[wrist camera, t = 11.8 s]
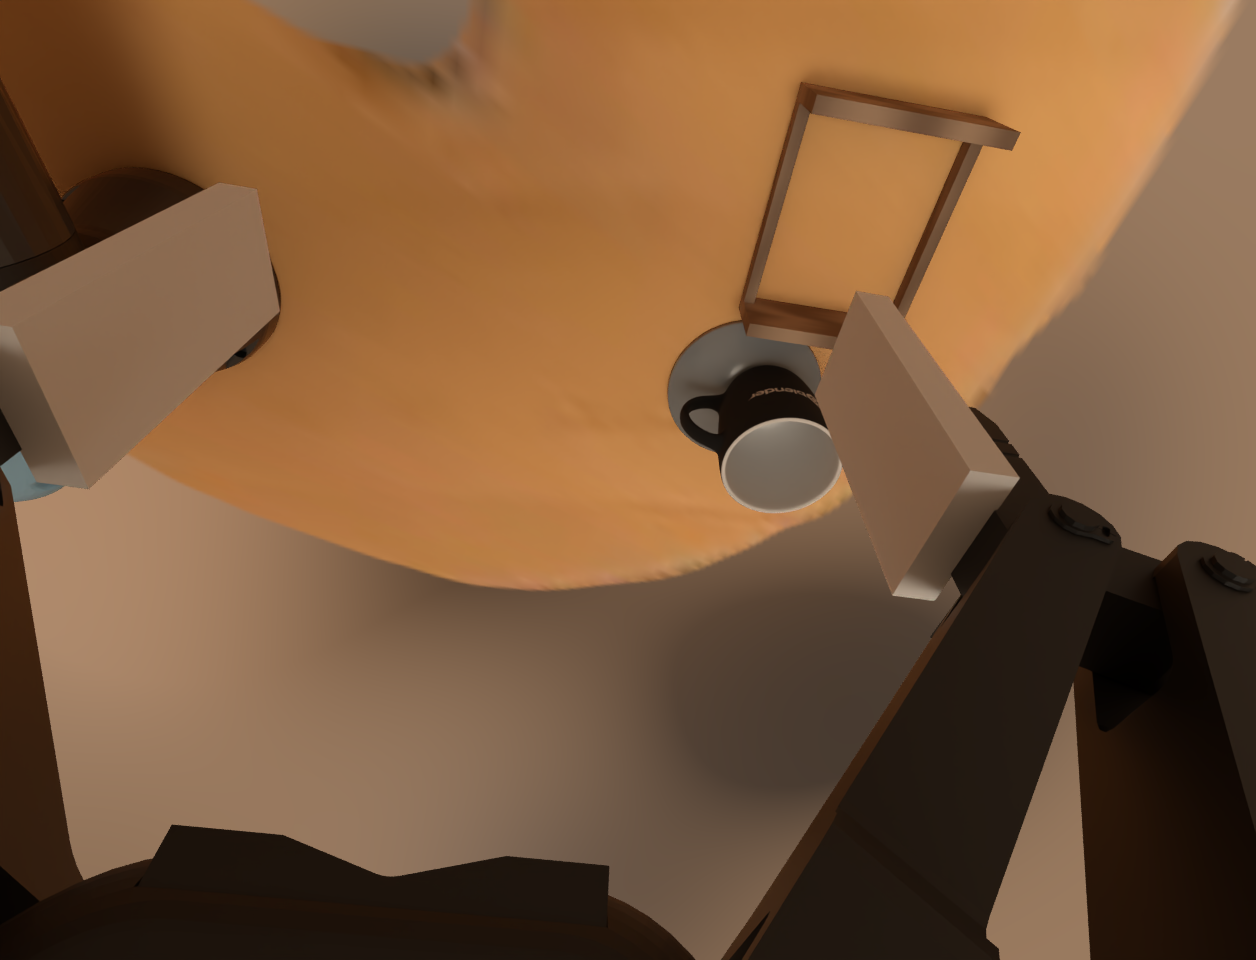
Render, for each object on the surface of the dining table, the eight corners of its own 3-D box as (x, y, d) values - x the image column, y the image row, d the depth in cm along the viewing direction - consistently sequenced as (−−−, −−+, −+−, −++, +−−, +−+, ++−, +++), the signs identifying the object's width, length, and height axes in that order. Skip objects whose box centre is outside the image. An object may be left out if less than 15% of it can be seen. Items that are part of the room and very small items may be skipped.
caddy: (738, 307, 51) (746, 335, 47) (801, 82, 41) (817, 94, 38) (890, 332, 52) (910, 361, 48) (986, 117, 42) (1020, 132, 38)
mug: (832, 361, 53) (864, 430, 45) (794, 447, 59) (816, 522, 51) (691, 333, 52) (698, 399, 44) (665, 424, 57) (668, 497, 49)
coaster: (655, 440, 59) (655, 444, 59) (684, 308, 51) (685, 311, 51) (792, 460, 60) (793, 463, 60) (842, 333, 52) (843, 336, 52)
